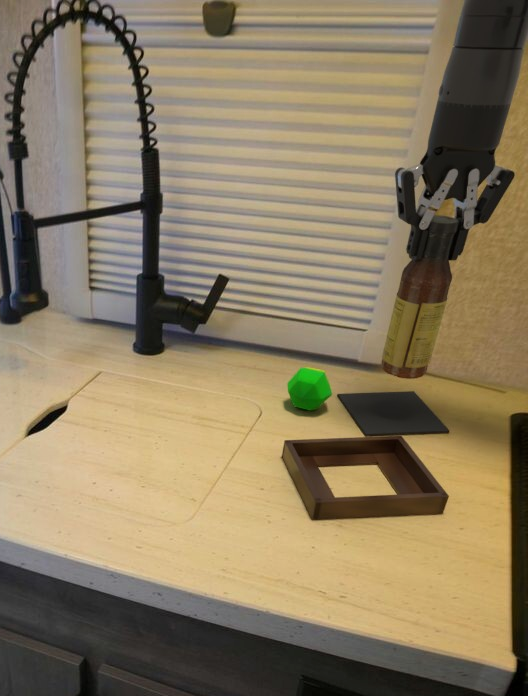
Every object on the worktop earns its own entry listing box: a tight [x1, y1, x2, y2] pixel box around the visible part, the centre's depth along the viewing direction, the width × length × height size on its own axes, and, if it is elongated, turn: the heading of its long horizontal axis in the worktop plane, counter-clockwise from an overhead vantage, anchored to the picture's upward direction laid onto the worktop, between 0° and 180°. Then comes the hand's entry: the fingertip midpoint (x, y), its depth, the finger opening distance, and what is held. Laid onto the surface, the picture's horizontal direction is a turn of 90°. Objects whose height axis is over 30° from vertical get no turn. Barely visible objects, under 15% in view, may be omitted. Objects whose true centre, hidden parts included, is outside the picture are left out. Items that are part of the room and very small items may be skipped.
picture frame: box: [281, 435, 450, 521], centre depth 81 cm, size 16×14×2 cm
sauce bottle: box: [381, 214, 459, 380], centre depth 86 cm, size 6×6×20 cm
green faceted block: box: [286, 366, 333, 411], centre depth 97 cm, size 7×6×9 cm
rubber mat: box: [336, 390, 451, 437], centre depth 96 cm, size 12×12×1 cm
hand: (432, 258), depth 83 cm, fingers closed on sauce bottle, 4 cm apart
